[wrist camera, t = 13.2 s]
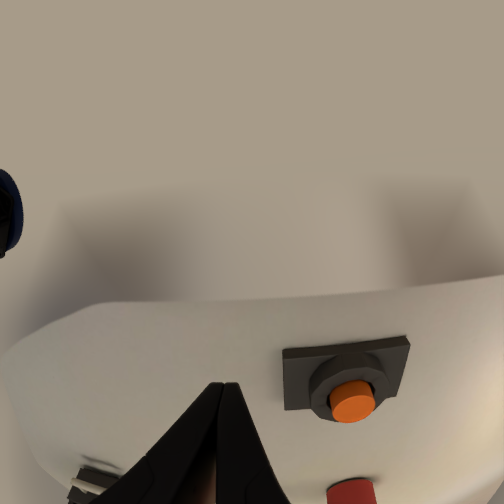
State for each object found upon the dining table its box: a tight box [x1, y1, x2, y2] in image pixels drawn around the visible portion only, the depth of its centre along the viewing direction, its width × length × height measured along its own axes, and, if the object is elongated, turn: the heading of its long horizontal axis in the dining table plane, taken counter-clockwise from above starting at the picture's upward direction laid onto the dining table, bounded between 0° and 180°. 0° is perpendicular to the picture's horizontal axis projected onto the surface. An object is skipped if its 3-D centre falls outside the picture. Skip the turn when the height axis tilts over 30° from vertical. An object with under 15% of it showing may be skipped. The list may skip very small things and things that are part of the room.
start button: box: [330, 379, 375, 423], centre depth 19 cm, size 3×3×2 cm
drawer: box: [67, 468, 118, 504], centre depth 30 cm, size 15×10×7 cm
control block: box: [282, 336, 410, 422], centre depth 21 cm, size 10×6×3 cm, turn 95°
